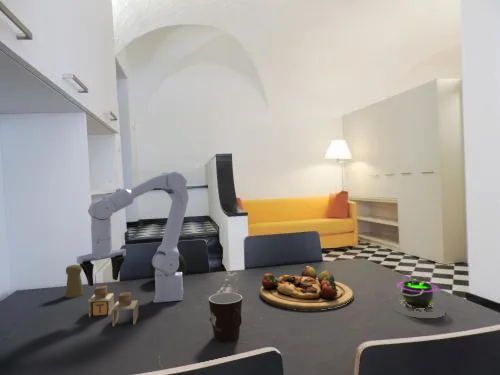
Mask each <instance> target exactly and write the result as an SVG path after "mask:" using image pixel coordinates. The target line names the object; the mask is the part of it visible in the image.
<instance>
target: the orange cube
mask: <svg viewBox="0 0 500 375" xmlns="http://www.w3.org/2000/svg"><path fill="white" fill-rule="evenodd" d="M106 315H107V316H108V301H99V302H93V314H92V316H94V317H95V316H106Z"/></svg>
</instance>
